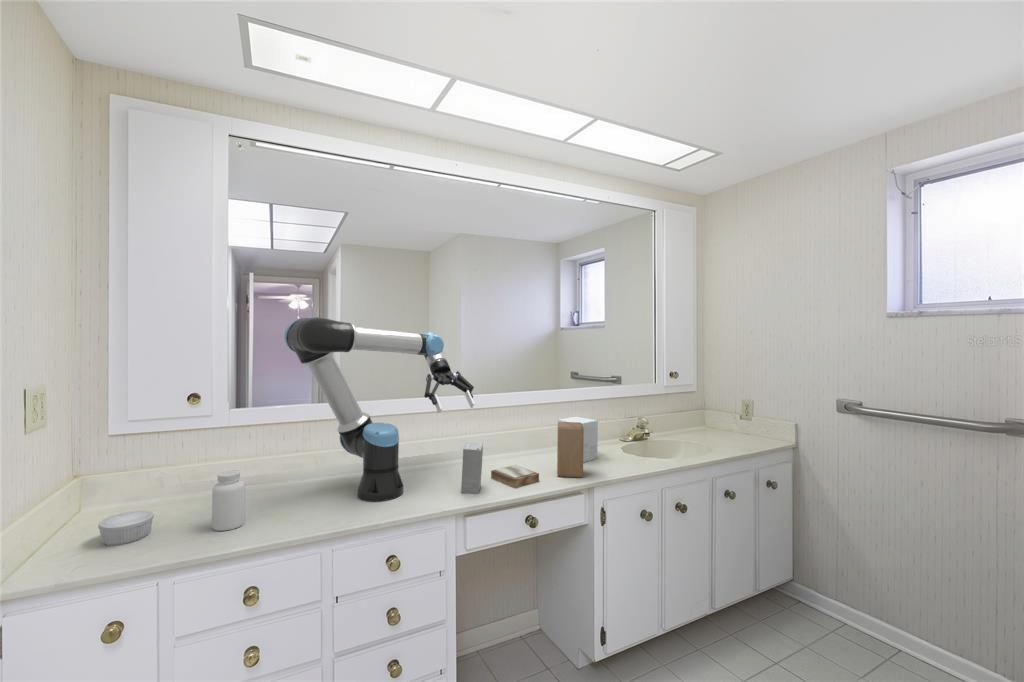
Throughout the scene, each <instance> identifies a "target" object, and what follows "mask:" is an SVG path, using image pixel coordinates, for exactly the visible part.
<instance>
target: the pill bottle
mask: <svg viewBox="0 0 1024 682" xmlns="http://www.w3.org/2000/svg"><path fill="white" fill-rule="evenodd" d="M240 476H241V472H240V471H239V470H225V471H223V472H219V473H218V474H217V482H218V483H216V484H214V486H213V487H212V490H211V491H212V493H211V503H212V504H211V505H212V506H211V526H212V530H214V531H216V532H223V531H230V530H234V529H237V528H240V527H242V526H243V525H244V524H245V521H246V484H245V481H244V480H242V479H241V477H240Z"/></svg>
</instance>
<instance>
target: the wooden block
mask: <svg viewBox="0 0 1024 682" xmlns="http://www.w3.org/2000/svg"><path fill="white" fill-rule="evenodd" d="M557 440H558V444H557V445H556V446H557V448H556V449H557V450H556V451H557V453H556V455H557V460H556V461H557V462H556V463H557V464H556V467H557V468H556V469H557V470H556V474H557V476H558V477H559V478H580V479H581V478H583V476H584V463H583V442H584V429H583V425H582V423H580V422H559V423H558V422H557Z"/></svg>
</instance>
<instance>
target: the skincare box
mask: <svg viewBox="0 0 1024 682" xmlns="http://www.w3.org/2000/svg"><path fill="white" fill-rule="evenodd" d="M462 451H463V452H462V467H461V468H462V469H461V487H460V488H461V489H460V492H461V494H479V493H480V489H481V486H482V473H483V472H482V470H483V454H484V453H483V452H484V443H477V442H476V443H474V442H466V443H465V445H464V446H463V448H462Z"/></svg>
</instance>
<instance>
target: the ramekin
mask: <svg viewBox="0 0 1024 682" xmlns="http://www.w3.org/2000/svg"><path fill="white" fill-rule="evenodd" d="M154 517H155V513H154V512H153V511H151V510H143V509H141V510H139V509H138V510H132V511H126V512H125V511H124V512H121V513H118V514H115V515H110V516H108V517H106V518H104V519H102V520H101V521H99V522H98V525H97V527H98V529H99V533H100V537H101V542H102V543H103V544H105V545H106V546H119V545H125V544H130V543H134V542H137V541H139V540H142V539H144V538H146V537H147V536H148V535H149V533H150V532H151V530H152V524H153V519H154Z"/></svg>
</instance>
